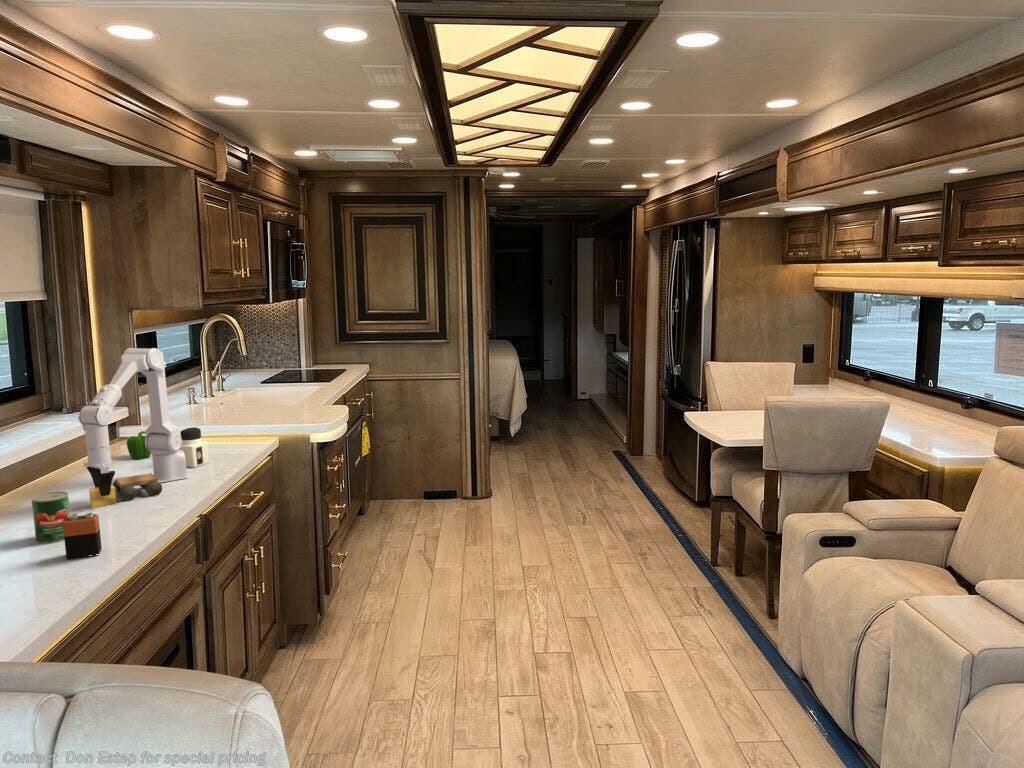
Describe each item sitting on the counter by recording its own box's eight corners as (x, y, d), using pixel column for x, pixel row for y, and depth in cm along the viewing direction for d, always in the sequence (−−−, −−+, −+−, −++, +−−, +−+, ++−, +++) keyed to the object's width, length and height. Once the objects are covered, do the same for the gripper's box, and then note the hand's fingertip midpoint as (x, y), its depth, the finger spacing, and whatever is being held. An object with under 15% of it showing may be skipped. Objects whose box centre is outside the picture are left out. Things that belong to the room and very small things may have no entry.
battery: (69, 553, 174) (65, 513, 173) (102, 549, 177) (98, 509, 175) (66, 560, 170) (61, 518, 169) (99, 555, 173) (95, 515, 171)
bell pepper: (122, 460, 264) (120, 433, 263) (140, 454, 272) (137, 428, 270) (141, 461, 262) (138, 434, 260) (158, 456, 269) (156, 429, 268)
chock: (116, 500, 216) (114, 484, 215) (118, 504, 213) (117, 487, 212) (90, 505, 212) (88, 488, 211) (93, 508, 209) (91, 491, 208)
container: (209, 462, 259) (207, 426, 257) (193, 468, 251) (191, 431, 249) (192, 461, 261) (189, 425, 259) (176, 466, 254) (173, 430, 252)
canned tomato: (45, 545, 180) (40, 502, 178) (29, 540, 184) (24, 497, 182) (78, 536, 186) (74, 494, 185) (62, 530, 190) (58, 489, 189)
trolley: (153, 486, 230) (152, 471, 229) (162, 494, 221) (161, 479, 220) (113, 493, 223) (111, 478, 222) (120, 502, 214) (119, 486, 213)
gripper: (78, 444, 213) (82, 489, 215) (86, 453, 201) (91, 501, 203) (105, 440, 217) (109, 484, 219) (115, 449, 206) (119, 496, 208)
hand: (102, 492), depth 211 cm, fingers open, 7 cm apart
